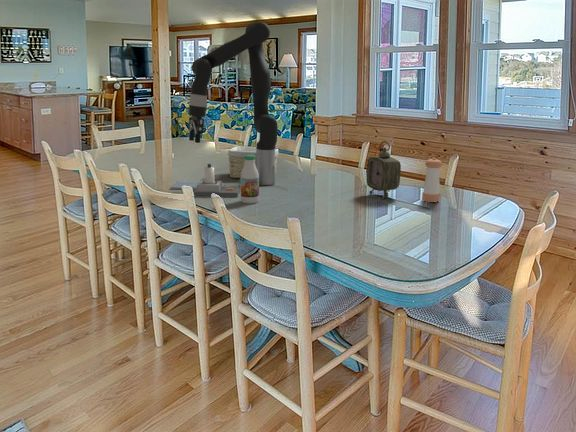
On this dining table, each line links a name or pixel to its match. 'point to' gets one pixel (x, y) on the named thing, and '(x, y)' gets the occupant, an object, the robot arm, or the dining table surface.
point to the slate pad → (180, 183)
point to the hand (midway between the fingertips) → (194, 141)
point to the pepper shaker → (432, 181)
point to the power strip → (215, 190)
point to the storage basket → (242, 159)
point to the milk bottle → (249, 181)
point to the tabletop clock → (383, 172)
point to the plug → (209, 175)
